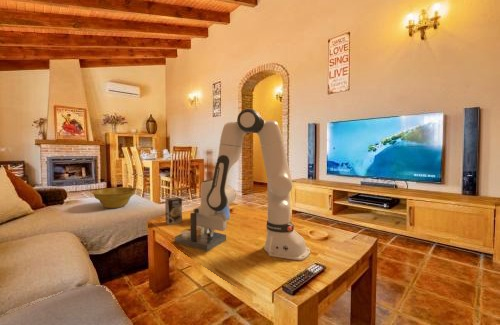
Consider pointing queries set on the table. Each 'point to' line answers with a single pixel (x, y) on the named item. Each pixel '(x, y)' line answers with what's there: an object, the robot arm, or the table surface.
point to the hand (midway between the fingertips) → (209, 235)
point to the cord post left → (193, 226)
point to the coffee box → (173, 210)
